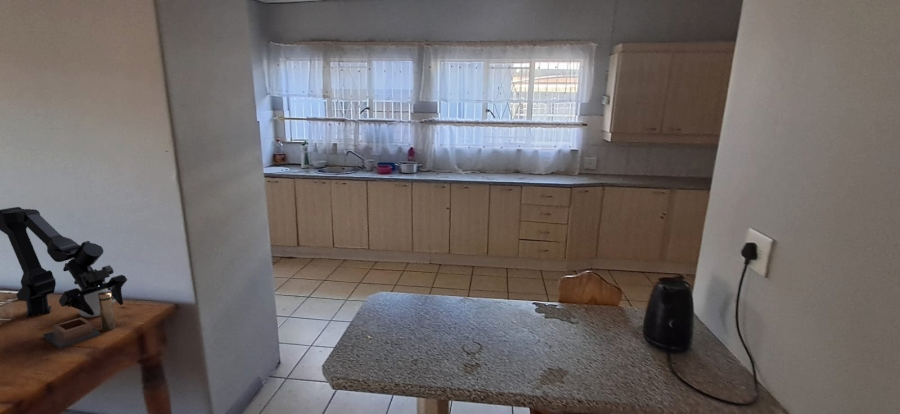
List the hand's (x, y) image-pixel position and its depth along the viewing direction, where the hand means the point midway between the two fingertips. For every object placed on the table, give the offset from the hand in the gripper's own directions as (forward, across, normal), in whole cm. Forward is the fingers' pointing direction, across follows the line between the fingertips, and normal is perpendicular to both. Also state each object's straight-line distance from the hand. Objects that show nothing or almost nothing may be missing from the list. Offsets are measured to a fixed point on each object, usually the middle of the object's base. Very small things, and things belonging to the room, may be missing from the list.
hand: (108, 309), depth 148 cm
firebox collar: (+1, -8, +9) cm, 12 cm away
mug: (-6, +7, +16) cm, 19 cm away
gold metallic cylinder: (+5, 0, +6) cm, 7 cm away
